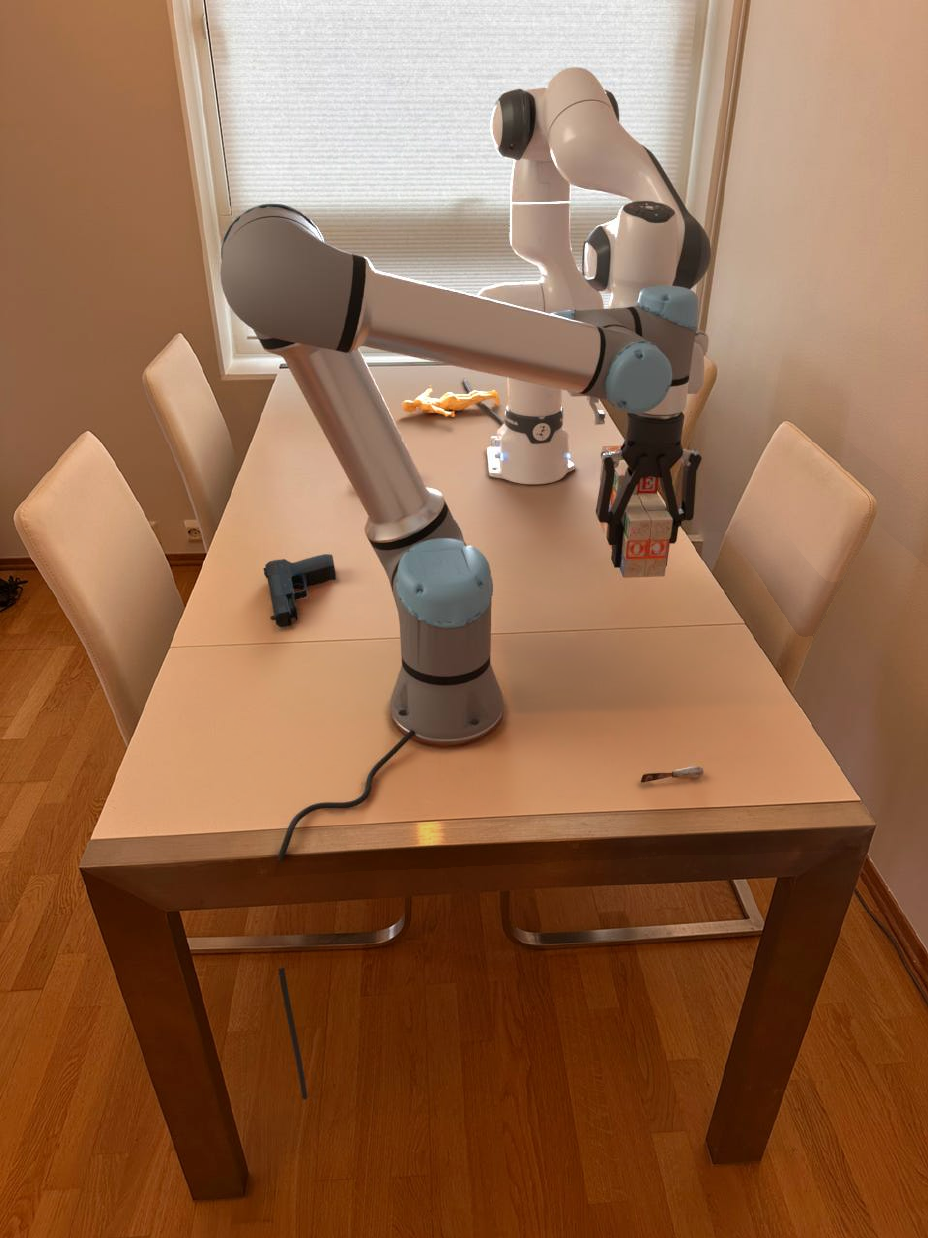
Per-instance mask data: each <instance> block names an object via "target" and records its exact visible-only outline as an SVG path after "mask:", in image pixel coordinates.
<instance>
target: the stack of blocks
mask: <svg viewBox="0 0 928 1238" xmlns="http://www.w3.org/2000/svg"><path fill="white" fill-rule="evenodd" d="M621 446H622V445H604V446H602V447H601V453H602V452H603V451H608V452H609V453H610V452H613V451H617V450H620V448H621ZM627 467H628V465H627V464H626V462H625V461H624V459H621V460H620V461H619V465H618V467H617V468H614V469H615V476H614V482H613V488H612V493H611V499H610V505H609V511H610V509H611V506H612V504H613V502H614V500H615V497H616V495H617V493H618V491H619V488H620V486H621V484H622V482H623V479H624V477H625V472H626V470H627ZM602 471H603V464H602V461H601V464H600V475H599V476H600V477H599V482H601V476H602ZM659 481H660V478H655V477H651V476H650V477H646V478H641V480H640V482H639V484H638V485H636V487H635V490H634V492H633V494H632V496H631V498H630V501H629V503H628V505H627V507H626V509H625V512H624V514H623V516H622V518H621V522H622V524H623V527H624V531H623V541H622V550H621V560H620V568H619V571H620V573H621V576H622V577H623V578H624V579H629V578H631V579H632V578H633V579H634V578H660V577H665V576H666V568H667V566H666V560H667V556H668V557H669V553H668V548H669V549H670V545H669V539H670V537H671V530H672V522H673V519H672V517H671V515H670V514H669V512H668V511H667V508H666V504H665V502H664V501H663V499H662V498H661V496H660V495H659V494H658V491H659V490H658V489H659ZM609 511H608V512H609ZM607 525H608V524H607V523H605V522H604V523H601V522H600V526H601V528H602V531H603V533H604V536H605V537H606V536H607ZM609 546H610V548H611V550H612V545H609ZM667 561H668V560H667Z"/></svg>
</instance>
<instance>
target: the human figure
mask: <svg viewBox="0 0 928 1238" xmlns="http://www.w3.org/2000/svg"><path fill="white" fill-rule="evenodd" d="M424 391H425V392H423V393H422V394H420V395H418V396H416V398H415V399H414V400H404V401H403V402H402V411H404V412H405V413H410V414H412V413H414V412H417V408H418V409H420V410H421V411H423V412H424V413H427V414H439V415H443V416H444V417H449V416H450V417H451V418H452V417H453V418H454V417H455V416H456V414H455V411H462V410H464V409H467V408H469V407H471V406H473V405H476V404H479V403H478V402H482V403H483V402H484V401H488V400H493V402H494V403H495V404H496V405H497V406H500V398H499V393H498V392H497V391H496V390H495V389H493V390H491V391H478V390H473V391H472V392H471V393H469V392H468V394H460V393H457V394H455V393H453V392H446V393H444V394H443V395H442V396H441V397H440V398H434V397H429V396H430V395H432V394H433V392H434V391H433V389H432V385H429V387H428V389H424ZM450 410H452V411H450Z"/></svg>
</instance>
